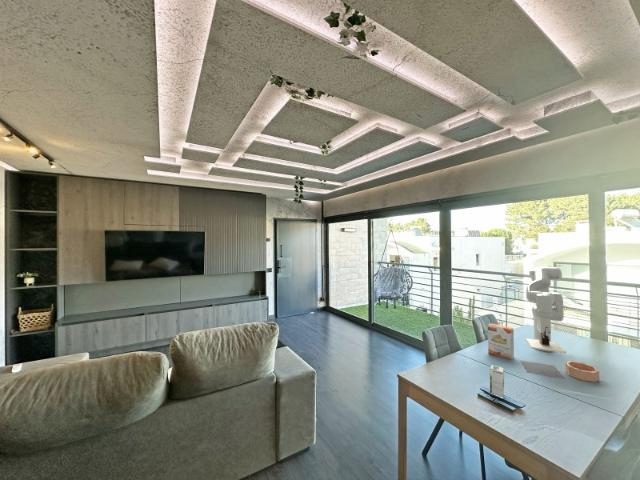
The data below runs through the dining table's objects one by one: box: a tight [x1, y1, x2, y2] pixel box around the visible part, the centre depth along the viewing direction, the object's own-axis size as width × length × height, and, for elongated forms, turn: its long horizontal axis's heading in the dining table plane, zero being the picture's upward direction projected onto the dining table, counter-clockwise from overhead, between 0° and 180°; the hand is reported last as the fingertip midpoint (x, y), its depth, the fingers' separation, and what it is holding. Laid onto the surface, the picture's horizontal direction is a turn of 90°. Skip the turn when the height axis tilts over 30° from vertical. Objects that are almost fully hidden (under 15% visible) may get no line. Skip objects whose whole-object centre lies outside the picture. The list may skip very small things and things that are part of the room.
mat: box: [519, 359, 566, 380], centre depth 162 cm, size 18×18×1 cm
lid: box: [524, 333, 567, 354], centre depth 161 cm, size 16×16×7 cm
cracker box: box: [487, 323, 515, 360], centre depth 182 cm, size 14×6×21 cm, turn 37°
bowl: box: [565, 360, 600, 383], centre depth 153 cm, size 13×13×6 cm
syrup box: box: [489, 364, 505, 398], centre depth 136 cm, size 6×6×14 cm
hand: (544, 342), depth 161 cm, fingers closed on lid, 4 cm apart
